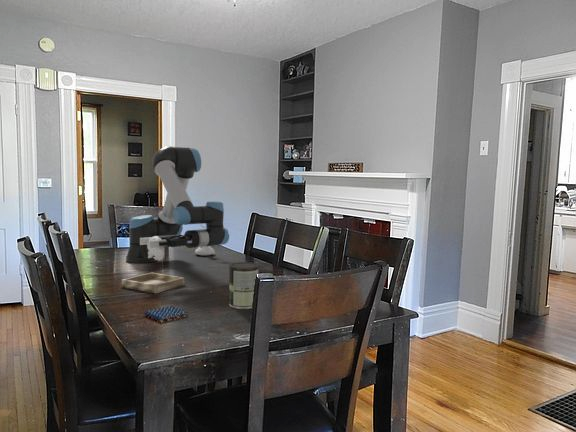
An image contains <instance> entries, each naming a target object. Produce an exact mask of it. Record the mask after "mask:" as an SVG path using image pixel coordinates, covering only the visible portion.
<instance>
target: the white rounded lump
mask: <svg viewBox="0 0 576 432" xmlns="http://www.w3.org/2000/svg"><path fill="white" fill-rule="evenodd" d="M154 240H162V239H161V238H159V237H158V236H154V237H151V238H150V239H149V241H148V243H147V248H148V250H149V251H148V254H149V256H148V258H151V257H153V255H154V256H155V258H154V257H153V258H154V259H155V260H156V261H159V262H160V261H161V260H164V259H165V251H166V249H165V247H157V248H150V241H154Z"/></svg>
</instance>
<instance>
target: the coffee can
mask: <svg viewBox="0 0 576 432" xmlns="http://www.w3.org/2000/svg"><path fill="white" fill-rule="evenodd" d="M259 268H260V265H259V264H258V263H256V262H251V261H250V262H248V261H247V262H246V261H244V262H243V261H242V262H241V261H239V262H233V263H230V264H229V278H228V279H229V287H228V288H229V289H228V294H229V296H228V297H229V299H228V301H229V302H228V306H229V307H231V308H233V309H236V310H237V309H238V310H239V309H240V310H249V309H253V308H252V302H253V294H254V285H255V279H256V275H257V274H259V273H260V272H259V270H260V269H259Z"/></svg>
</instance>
